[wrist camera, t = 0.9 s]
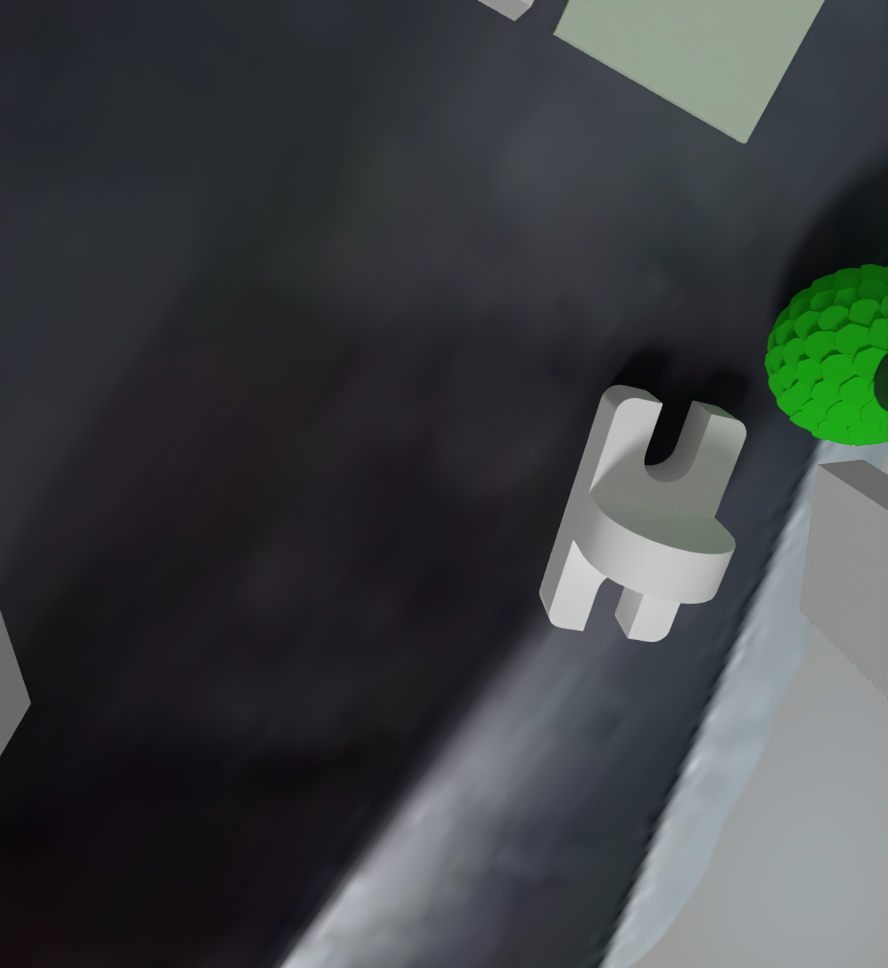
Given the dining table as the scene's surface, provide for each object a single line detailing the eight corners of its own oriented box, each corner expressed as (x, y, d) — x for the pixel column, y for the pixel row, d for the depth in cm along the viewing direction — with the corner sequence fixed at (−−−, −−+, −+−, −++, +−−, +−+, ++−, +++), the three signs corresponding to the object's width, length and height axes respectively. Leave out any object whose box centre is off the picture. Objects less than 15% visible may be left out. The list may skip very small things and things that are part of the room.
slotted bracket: (648, 618, 46) (701, 704, 39) (535, 600, 45) (568, 684, 37) (728, 407, 41) (806, 459, 34) (605, 380, 40) (659, 428, 33)
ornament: (812, 442, 42) (938, 520, 33) (703, 359, 40) (806, 419, 31) (922, 315, 40) (1089, 362, 31) (814, 220, 38) (960, 240, 29)
